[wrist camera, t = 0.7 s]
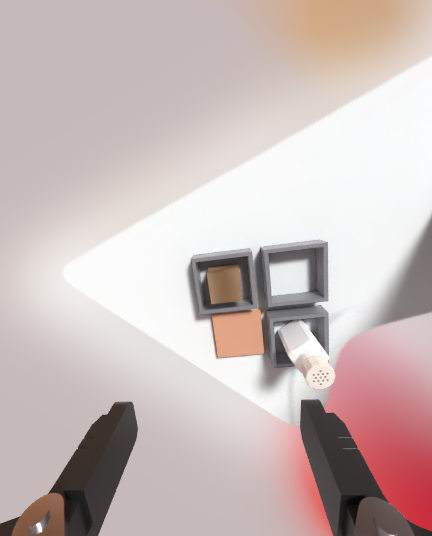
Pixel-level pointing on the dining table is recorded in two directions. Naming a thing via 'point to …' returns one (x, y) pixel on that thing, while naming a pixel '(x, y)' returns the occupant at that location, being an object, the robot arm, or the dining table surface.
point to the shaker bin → (294, 314)
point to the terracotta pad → (238, 333)
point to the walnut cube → (224, 283)
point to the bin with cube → (229, 306)
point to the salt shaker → (307, 354)
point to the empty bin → (321, 274)
